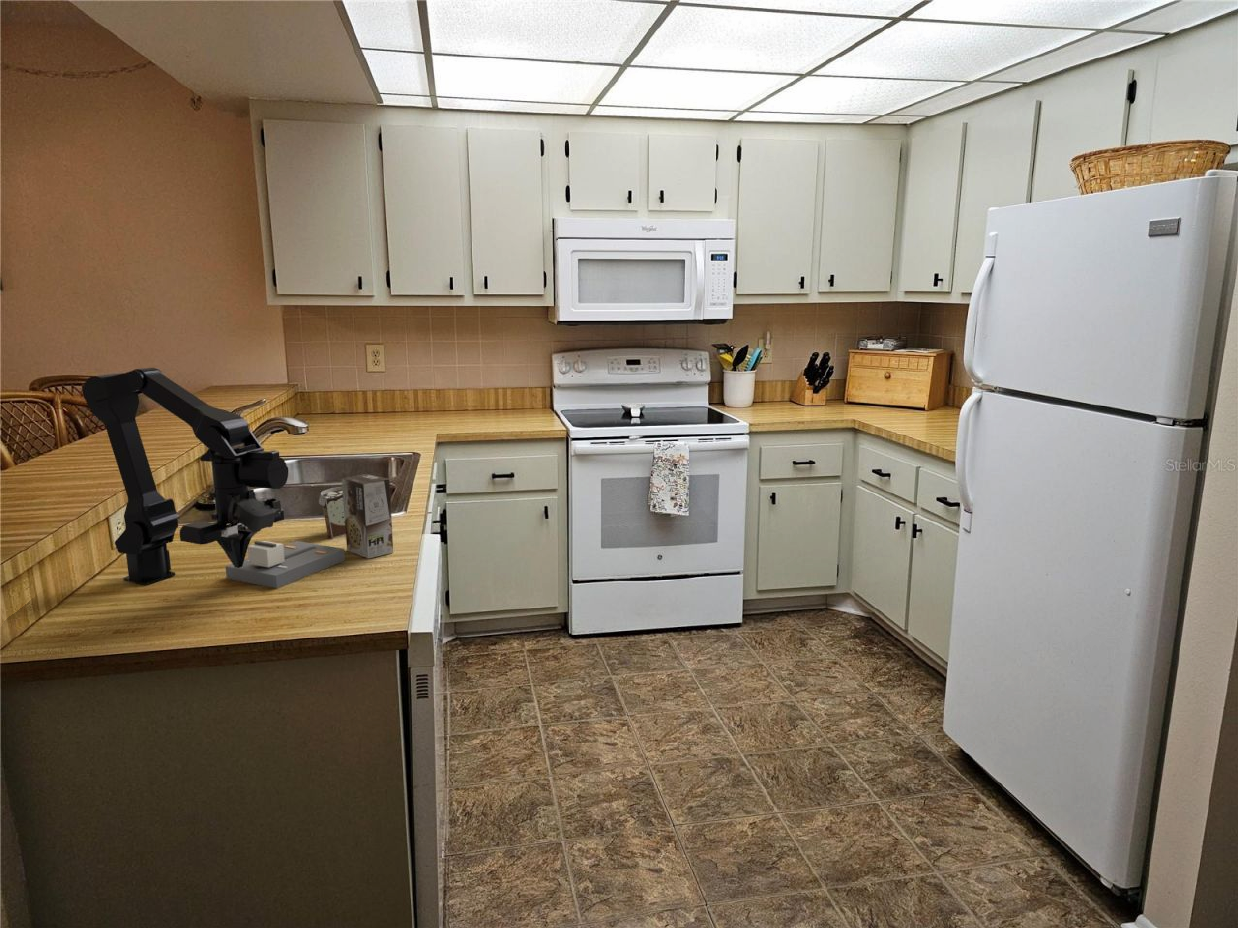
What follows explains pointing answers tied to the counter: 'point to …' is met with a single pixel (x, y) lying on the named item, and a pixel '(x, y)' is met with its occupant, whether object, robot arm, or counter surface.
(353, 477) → the coffee box
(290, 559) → the fader console
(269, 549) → the fader tab
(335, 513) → the food container
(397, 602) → the counter surface
